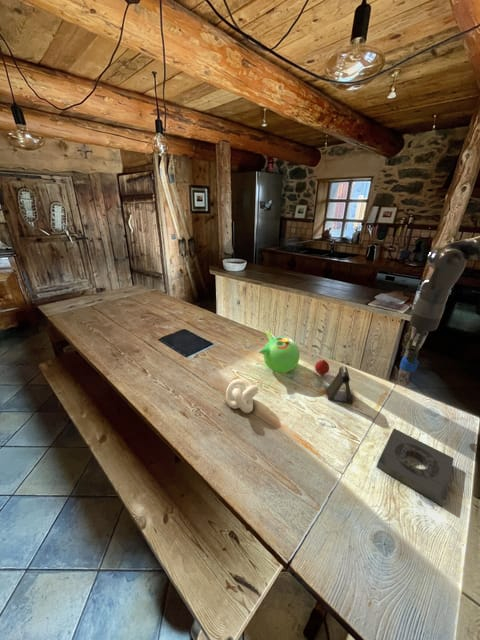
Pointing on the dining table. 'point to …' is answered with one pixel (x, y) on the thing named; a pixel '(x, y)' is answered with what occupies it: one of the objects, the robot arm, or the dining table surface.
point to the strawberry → (322, 367)
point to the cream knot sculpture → (240, 395)
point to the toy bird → (280, 353)
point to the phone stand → (335, 386)
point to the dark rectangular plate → (422, 480)
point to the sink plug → (408, 365)
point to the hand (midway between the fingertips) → (410, 359)
